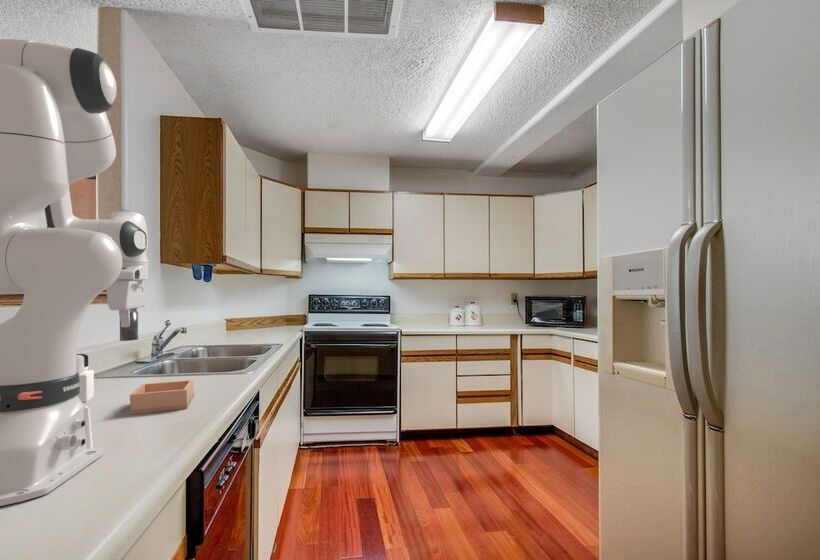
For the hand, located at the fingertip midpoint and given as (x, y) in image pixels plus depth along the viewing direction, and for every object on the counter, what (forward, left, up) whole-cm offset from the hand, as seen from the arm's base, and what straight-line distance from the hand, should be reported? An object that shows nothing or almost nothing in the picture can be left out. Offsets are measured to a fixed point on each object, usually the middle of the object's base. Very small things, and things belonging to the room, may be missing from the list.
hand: (128, 326), depth 110 cm
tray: (-11, -10, -19) cm, 24 cm away
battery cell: (0, 0, -4) cm, 4 cm away
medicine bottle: (+3, +13, -19) cm, 23 cm away
